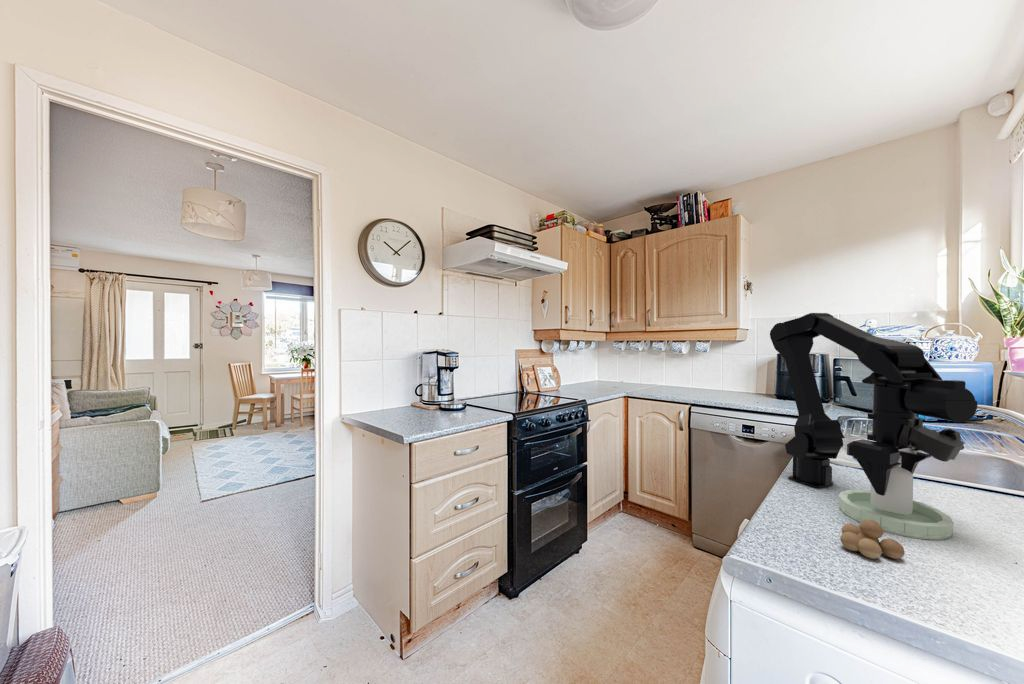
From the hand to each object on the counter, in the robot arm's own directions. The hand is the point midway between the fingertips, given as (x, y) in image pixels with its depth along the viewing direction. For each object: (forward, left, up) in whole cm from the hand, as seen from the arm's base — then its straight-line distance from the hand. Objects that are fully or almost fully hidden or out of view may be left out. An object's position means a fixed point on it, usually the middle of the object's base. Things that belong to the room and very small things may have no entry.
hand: (891, 491), depth 71 cm
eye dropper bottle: (0, 0, -4) cm, 4 cm away
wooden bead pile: (+4, -18, -5) cm, 19 cm away
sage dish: (0, 0, -5) cm, 5 cm away
